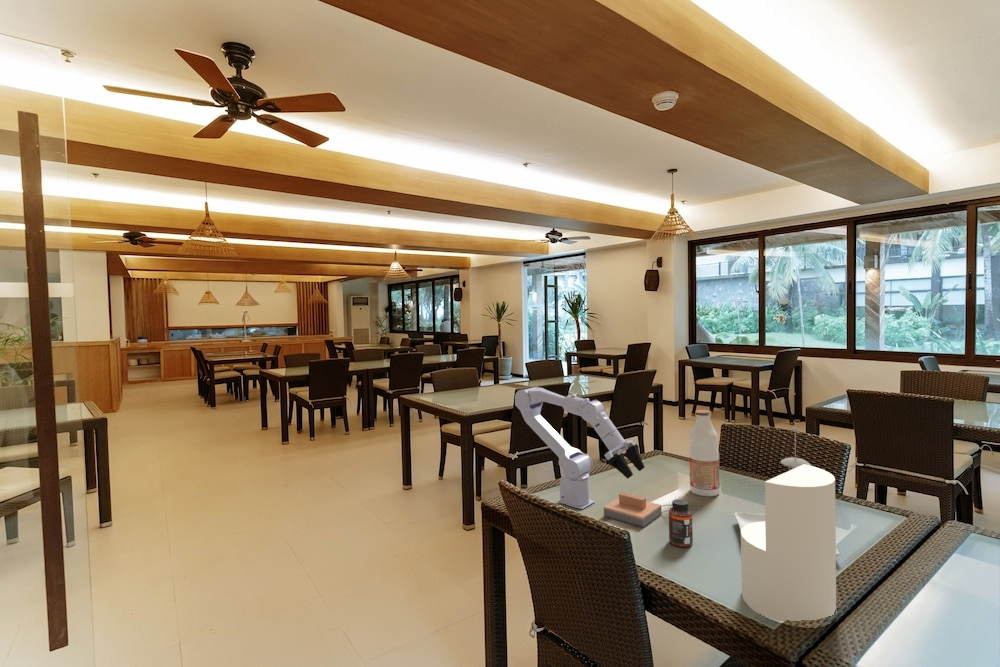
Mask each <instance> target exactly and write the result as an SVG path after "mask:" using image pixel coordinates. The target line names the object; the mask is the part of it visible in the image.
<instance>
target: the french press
mask: <svg viewBox="0 0 1000 667" xmlns="http://www.w3.org/2000/svg"><path fill="white" fill-rule="evenodd" d="M791 431H792V432H794V457H785V458H783V459H782V460H781V461H780V463H781V464H782V465H783V466H785V467H788V471H790V470H791V469H794V468H796V467H799V466H801V465H803V464H806V465H810V466H812V464H811V463H810V462H809V461H807V460H805V459H802V458H799V457H797V455H796V454H797V442H796V441H797V438H796V436H797V433H798V432H800V429H799V428H798V427H796V426H795V427H794V426H793V427H791ZM796 432H797V433H796ZM790 468H791V469H790Z"/></svg>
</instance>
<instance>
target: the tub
mask: <svg viewBox="0 0 1000 667" xmlns="http://www.w3.org/2000/svg"><path fill="white" fill-rule="evenodd" d="M660 515H661V516H662V507H661V508H659V509H658V510H656V511H655V512H653V513H652V514H651V515H649V516H648V517H646V518H645V519H643V520H642V519H639V518H635V517H632V516H628V515H624V514H621V513H617V512H614V511H610V510H607V509H604V508H603V517H604V518H607V519H610V520H615V521H617V522H620V523H621V522H622V523H624V524H627V525H631V526H634V527H637V528H641V529H644V528H645V527H648V525H649V524H651V523H652V521H653V520H654V521H655V520H657V519H658V518H660V517H661V516H660ZM656 518H657V519H656ZM654 521H653V522H654Z"/></svg>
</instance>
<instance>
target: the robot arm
mask: <svg viewBox="0 0 1000 667" xmlns="http://www.w3.org/2000/svg"><path fill="white" fill-rule="evenodd" d="M544 403H548V404H552V405H556V406H559V407H562V408H563V411H564V412H566V413H570V414H573V415H576V416H579V417H581V418H582V419H583V420H584V421H585V422H588V423H589V424H590V426H592V428H593V429H594V431H595V433H597V435H598V436H599V437H600V439H601V441H602V442H603V444H604V445H605V447H606V448H607V450H609V451H607V452H605V454H604V457H605V459H606V460H607V462H606V464H608V465H609V466H611V467H613V468H614V469H616V470H617V471H618V472H619V473H620V474H622V475H623V476H624V477H625V478H626V479H629V478H631V477H632V476H634V474H633V471H632V470H631V468H630V467H629V465H628V463H627V461H626V459H628V461H630V462H631V464H632V465H633V466H634V468H636V470H637V471H638V472H640V471H642V470H644V469H645V465H644V462H643V459H642V457H641V454H640V450H639V449H640V448H639V445H638V443H635V442H634V441H633V440H632V439H628V440H625V439H624V437H623V435H621V433H620V431H619V430H618V429H617V427H616V425H614V423H613V421H612V420H611V419H610V418H609V416H608V414H606V408H605V405H604V404H603V403H602V402H601V401H599V400H598V399H593V400H590V398H582V397H579V396H577V394H575V393H571V394H568V395H566V396H565V395H561V394H559V393H556V392H554V391H551V390H548V389H545V388H543V387H539V386H532V387H530V388H524V389H519V390H517V392H516V393H515V395H514V405H515V407H517V409H518V410H519V412H520V413H521V415H522V418H523V420H524V422H525V423H526V424H527V426H529V428H530V429H531V430H532V431H533V432H534V433H535V434H536V435H537V436H538V437H539V438H540V439H541V440H542V441H543V443H545V445H546V446H547V447H549V450H551V451H552V452H553V453H554V454H555V455H556V456H557V457H558V465H559V467H560V468H561V469H562V472H563V474H562V475H561V477H560V479H559V500H558V503H559V504H562V505H565V504H566V505H567V506H569V507H573V508H576V509H579V510H584V509H585V508H587V507H589V506H591V505H592V504H595V502H596V501H595V500H593V499H591V498H590V497H591V496H590V471H591V470H592V469H593V461H592V457H590V456H589V454H587V453H584V452H582V451H581V449H579V448H576V447H573V446H571V445H570V444H569V443H568V442H567V441H566V440H565V439H564V438H563V437H562V436H561V435H560V434H559V432H558V431H557V430H555V429H554V428H553V427H552V425H551V424H550V423H549V422H548V421H547V420H546V419H545V418H544V417H543V416H542V415H541V411H542V406H543V404H544Z"/></svg>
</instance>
